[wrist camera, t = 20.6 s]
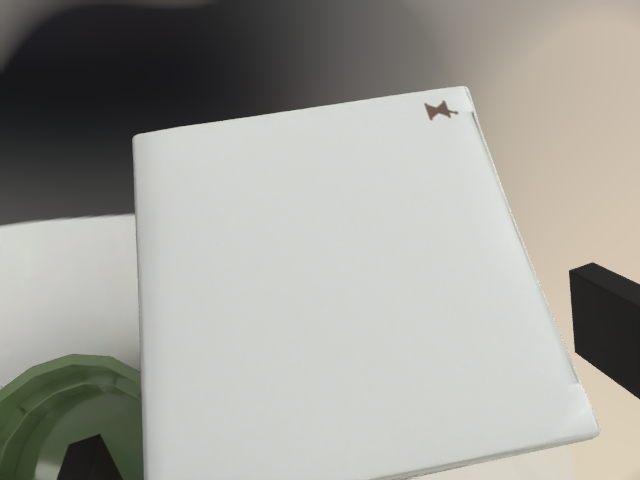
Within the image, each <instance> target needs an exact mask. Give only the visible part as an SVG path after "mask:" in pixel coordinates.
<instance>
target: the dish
mask: <svg viewBox="0 0 640 480" xmlns="http://www.w3.org/2000/svg"><path fill="white" fill-rule="evenodd" d="M97 434H101V436H102V438H103V440H104V442H105V444H106V446H107V448H108V450H109V452H110V454H111V456H112V458H113V460H114V462H115V464H116V466H117V468H118V470H119V472H120V474H121V476H122V478H123V480H144V463H143V428H142V397H141V372H139V371H137V370H135V369H133V368H131V367H130V366H128V365H126V364H124V363H122V362H120V361H118V360H117V359H115V358H113V357H110V356H96V355H80V354H71V355H67V356H64V357H61V358H58V359H55V360H52V361H49V362H46V363H42V364H39V365H36V366H33V367H32V368H29V369H28V370H27V371H25V372H24V373H23V374H21V375H20V376H19V377H17V378H16V379H14V380H13V381H12V382H10V383H9V384H8V385H6V386H5V387H4V388H2V389H1V390H0V480H56V479H57V476H58V473H59V471H60V468H61V465H62V462H63V459H64V456H65V453H66V451H67V448H68V445H69V444H71V443H74V442H77V441H80V440H83V439H86V438H89V437H92V436H94V435H97Z"/></svg>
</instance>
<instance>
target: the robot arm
mask: <svg viewBox="0 0 640 480" xmlns="http://www.w3.org/2000/svg"><path fill="white" fill-rule="evenodd" d="M569 278H570V291H571V305H572V318H573V331H574V345H575V352H576V353H577V354H578V355H580V356H581V357H582V358H584V359H585V360H587V361H588V362H589V363H591V364H592V365H593V366H595V367H596V368H597V369H599V370H600V371H602V372H603V373H604V374H606V375H607V376H608V377H610V378H611V379H613V380H614V381H615V382H617V383H618V384H619V385H621V386H622V387H624V388H625V389H626V390H628V391H629V392H631V393H632V394H633V395H634V396H636V397H637V398H639V399H640V284H638V283H636V282H634V281H631V280H629V279H627V278H625V277H623V276H621V275H619V274H616V273H614V272H612V271H610V270H608V269H606V268H604V267H602V266H599V265H597V264H595V263H590V264H587V265H584V266H581V267H578V268H575V269H572V270H570V271H569ZM56 480H123V478H122V476H121V474H120V472H119V470H118V468H117V466H116V464H115V462H114V460H113V458H112V456H111V454H110V452H109V450H108V448H107V446H106V444H105V442H104V440H103V438H102V436H101V434H97V435H94V436H92V437H89V438H86V439H83V440H80V441H77V442H74V443H71V444H69V445H68V448H67V451H66V453H65V456H64V459H63V462H62V465H61V468H60V471H59V473H58V476H57V479H56Z"/></svg>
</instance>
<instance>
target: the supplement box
mask: <svg viewBox="0 0 640 480" xmlns="http://www.w3.org/2000/svg"><path fill="white" fill-rule="evenodd" d="M132 143H133V161H134V162H133V163H134V192H135V220H136V244H137V268H138V298H139V332H140V368H141V397H142V428H143V463H144V480H403V479H408V478H413V477H418V476H422V475H427V474H432V473H437V472H441V471H446V470H451V469H455V468H460V467H465V466H469V465H474V464H478V463H483V462H488V461H492V460H497V459H502V458H506V457H511V456H515V455H520V454H525V453H529V452H534V451H539V450H543V449H548V448H553V447H558V446H563V445H568V444H573V443H577V442H582V441H586V440H590V439H593V438H595V437H597V436H598V435H599V434H600V432H601V428H600V426H599V423H598V421H597V419H596V416H595V413H594V411H593V408H592V406H591V404H590V402H589V400H588V397H587V395H586V393H585V391H584V389H583V386H582V384H581V382H580V380H579V378H578V375H577V373H576V370H575V368H574V365H573V362H572V360H571V357H570V355H569V353H568V350H567V348H566V345H565V343H564V341H563V338H562V336H561V334H560V331H559V329H558V326H557V324H556V321H555V319H554V316H553V314H552V312H551V309H550V307H549V305H548V303H547V300H546V298H545V296H544V293H543V291H542V288H541V286H540V283H539V281H538V278H537V275H536V273H535V271H534V268H533V265H532V263H531V261H530V258H529V255H528V253H527V251H526V248H525V246H524V243H523V240H522V238H521V235H520V233H519V230H518V228H517V225H516V223H515V220H514V217H513V215H512V212H511V210H510V207H509V205H508V202H507V199H506V197H505V194H504V191H503V188H502V185H501V183H500V180H499V177H498V174H497V172H496V169H495V166H494V163H493V160H492V158H491V155H490V152H489V149H488V147H487V144H486V141H485V138H484V135H483V133H482V130H481V127H480V124H479V121H478V118H477V115H476V112H475V109H474V105H473V102H472V98H471V95H470V92H469V90H468V88H467V87H464V86H460V87H451V88H442V89H435V90H429V91H421V92H415V93H407V94H401V95H393V96H387V97H381V98H374V99H367V100H360V101H354V102H347V103H341V104H335V105H327V106H320V107H314V108H307V109H300V110H293V111H287V112H280V113H273V114H267V115H260V116H253V117H247V118H240V119H233V120H226V121H219V122H212V123H205V124H197V125H190V126H184V127H178V128H172V129H166V130H160V131H154V132H149V133H143V134H138V135H136V136H134V137H133V139H132Z"/></svg>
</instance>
